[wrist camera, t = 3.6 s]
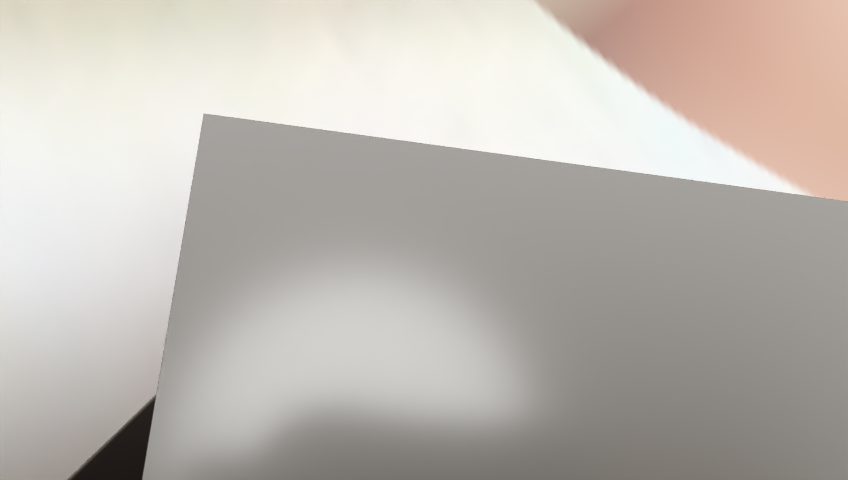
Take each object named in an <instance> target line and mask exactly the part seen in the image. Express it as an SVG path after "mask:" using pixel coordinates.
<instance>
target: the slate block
mask: <svg viewBox="0 0 848 480" xmlns="http://www.w3.org/2000/svg"><path fill="white" fill-rule="evenodd" d="M142 480H848V201H840V200H833V199H826V198H819V197H811V196H804V195H797V194H789V193H782V192H775V191H767V190H760V189H753V188H745V187H738V186H731V185H723V184H716V183H709V182H701V181H694V180H687V179H679V178H672V177H665V176H657V175H650V174H643V173H635V172H628V171H621V170H613V169H606V168H599V167H591V166H584V165H577V164H569V163H562V162H555V161H547V160H540V159H533V158H525V157H518V156H511V155H503V154H496V153H489V152H482V151H474V150H467V149H460V148H452V147H445V146H438V145H430V144H423V143H416V142H408V141H401V140H394V139H386V138H379V137H372V136H364V135H357V134H350V133H342V132H335V131H328V130H320V129H313V128H306V127H298V126H291V125H284V124H276V123H269V122H262V121H254V120H247V119H240V118H232V117H225V116H218V115H210V114H204V115H203V121H202V127H201V133H200V139H199V145H198V151H197V157H196V163H195V169H194V175H193V181H192V186H191V192H190V198H189V204H188V210H187V216H186V222H185V228H184V234H183V240H182V246H181V252H180V258H179V264H178V270H177V276H176V282H175V287H174V293H173V299H172V305H171V311H170V317H169V323H168V329H167V335H166V341H165V347H164V353H163V359H162V365H161V371H160V377H159V382H158V388H157V394H156V400H155V406H154V412H153V418H152V424H151V430H150V436H149V442H148V448H147V454H146V460H145V466H144V472H143V477H142Z"/></svg>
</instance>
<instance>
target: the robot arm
mask: <svg viewBox="0 0 848 480" xmlns="http://www.w3.org/2000/svg"><path fill="white" fill-rule="evenodd" d="M155 400H156V395H155V396H154V397H153V398H152V399H151V400H150V401H149V402H148V403H147V404H146V405H145V406H144V407H143V408H142V409H141V410H140V411H138V412H137V413H136V414H135V415H134V416H133V417H132V418H131V419H130V420H129V421H128V422H127V423H126V424H125V425H124V426H123V427H122V428H121V429H120V430H119V431H118V432H117V433H116V434H115V435H114V436H112V437H111V438H110V439H109V440H108V441H107V442H106V443H105V444H104V445H103V446H102V447H101V448H100V449H99V450H98V451H97V452H96V453H95V454H94V455H93V456H92V457H91V458H90V459H89V460H87V461H86V462H85V463H84V464H83V465H82V466H81V467H80V468H79V469H78V470H77V471H76V472H75V473H74V474H73V475H72V476H71V477H70V478H69V479H68V480H142V477H143V472H144V466H145V460H146V454H147V448H148V442H149V436H150V430H151V424H152V418H153V412H154V406H155Z"/></svg>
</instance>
